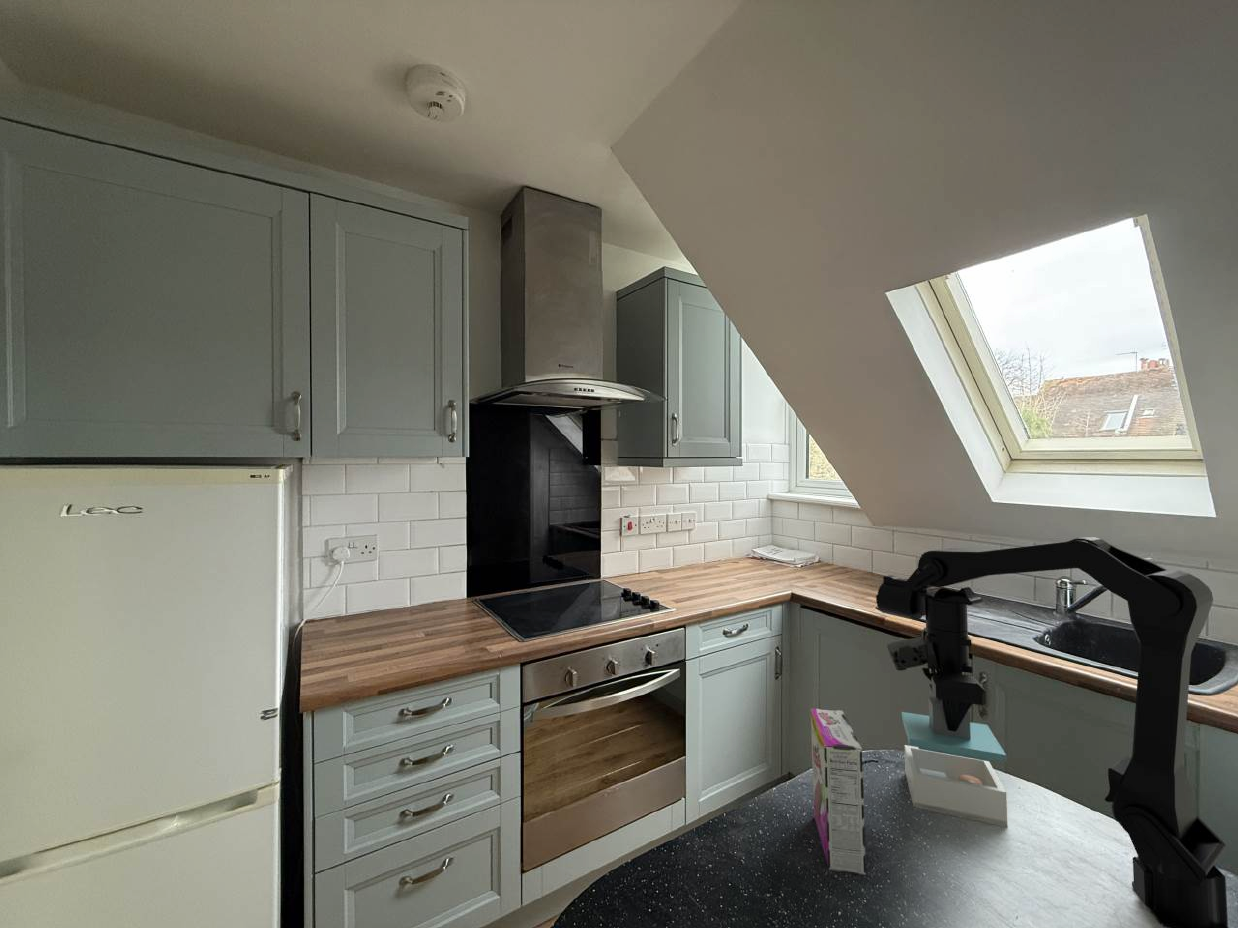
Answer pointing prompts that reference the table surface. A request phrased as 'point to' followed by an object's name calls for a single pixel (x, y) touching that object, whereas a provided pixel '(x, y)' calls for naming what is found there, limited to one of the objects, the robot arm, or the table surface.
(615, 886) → the table surface
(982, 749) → the lid
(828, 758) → the candy bar box
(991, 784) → the storage box
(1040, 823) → the table surface
